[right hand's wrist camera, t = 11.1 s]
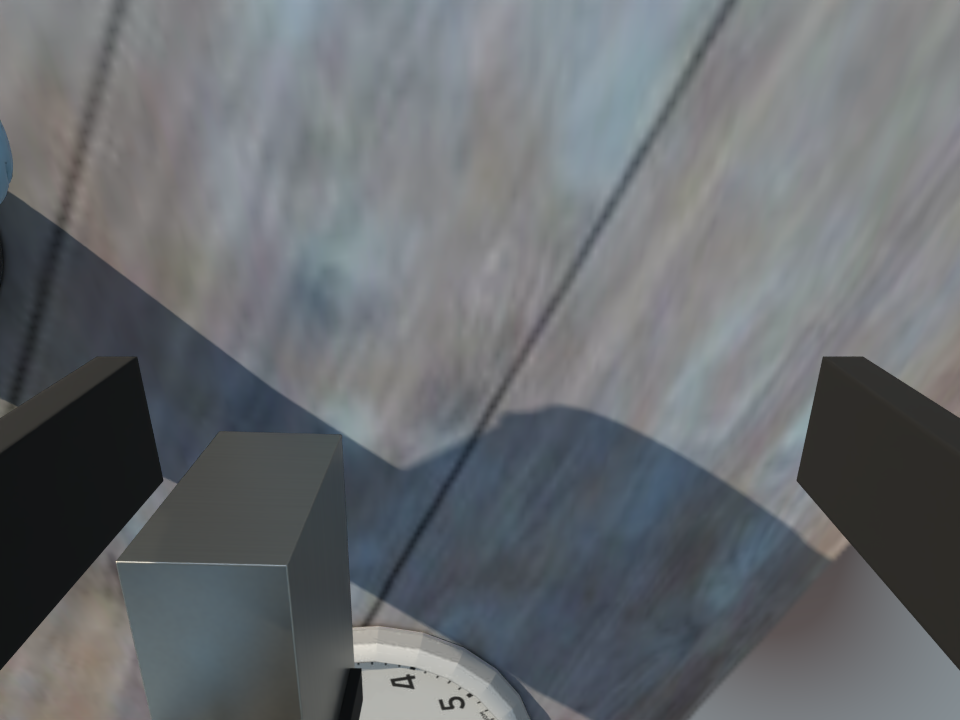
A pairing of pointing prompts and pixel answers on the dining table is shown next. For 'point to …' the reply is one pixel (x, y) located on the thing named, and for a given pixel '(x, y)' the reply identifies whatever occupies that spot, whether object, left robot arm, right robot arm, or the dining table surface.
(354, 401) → the dining table surface
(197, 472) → the box
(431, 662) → the wall clock
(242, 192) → the dining table surface
